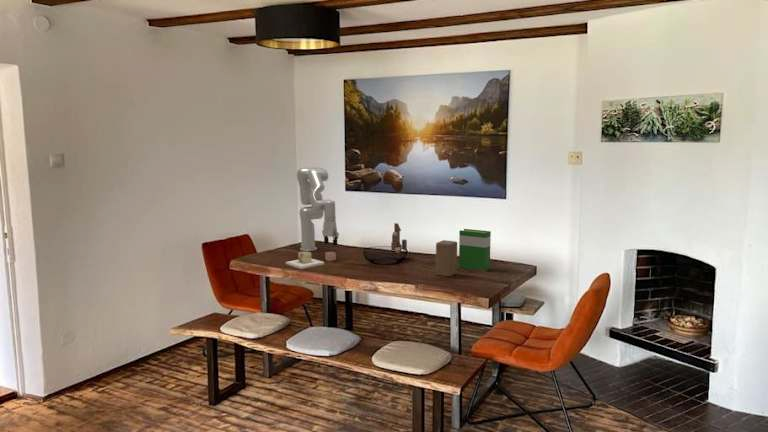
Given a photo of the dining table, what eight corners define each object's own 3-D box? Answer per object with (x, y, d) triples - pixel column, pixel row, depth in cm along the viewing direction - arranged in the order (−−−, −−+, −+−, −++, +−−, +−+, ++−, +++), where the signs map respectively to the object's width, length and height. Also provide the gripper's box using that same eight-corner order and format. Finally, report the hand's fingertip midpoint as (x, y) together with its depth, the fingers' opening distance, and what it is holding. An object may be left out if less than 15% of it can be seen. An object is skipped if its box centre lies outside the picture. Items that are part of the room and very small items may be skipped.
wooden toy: (399, 262, 369) (399, 225, 365) (389, 262, 371) (389, 224, 368) (407, 257, 383) (407, 221, 379) (398, 257, 386) (398, 221, 382)
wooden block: (450, 277, 331) (450, 244, 328) (435, 275, 336) (435, 242, 333) (457, 273, 339) (457, 241, 336) (442, 271, 345) (442, 239, 342)
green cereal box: (458, 268, 354) (459, 230, 350) (464, 265, 360) (464, 228, 357) (485, 271, 344) (485, 233, 341) (489, 269, 351) (490, 231, 347)
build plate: (285, 264, 367) (285, 261, 367) (308, 259, 379) (308, 257, 379) (301, 268, 354) (301, 266, 354) (324, 264, 366) (324, 261, 366)
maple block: (298, 261, 366) (298, 252, 366) (306, 260, 370) (306, 251, 370) (303, 263, 362) (303, 254, 361) (311, 261, 366) (311, 252, 365)
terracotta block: (325, 259, 379) (325, 252, 378) (331, 258, 382) (331, 251, 382) (329, 261, 375) (329, 253, 375) (335, 259, 379) (335, 252, 378)
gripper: (317, 218, 379) (318, 243, 381) (333, 220, 366) (334, 246, 368) (326, 217, 384) (327, 242, 386) (342, 219, 371) (343, 245, 373)
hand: (330, 244), depth 377 cm, fingers open, 9 cm apart
